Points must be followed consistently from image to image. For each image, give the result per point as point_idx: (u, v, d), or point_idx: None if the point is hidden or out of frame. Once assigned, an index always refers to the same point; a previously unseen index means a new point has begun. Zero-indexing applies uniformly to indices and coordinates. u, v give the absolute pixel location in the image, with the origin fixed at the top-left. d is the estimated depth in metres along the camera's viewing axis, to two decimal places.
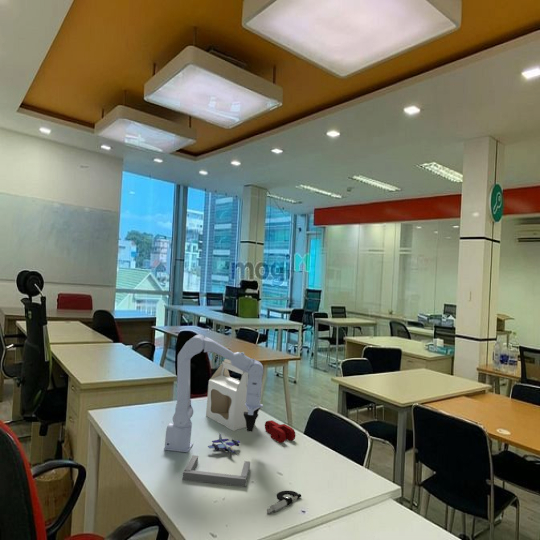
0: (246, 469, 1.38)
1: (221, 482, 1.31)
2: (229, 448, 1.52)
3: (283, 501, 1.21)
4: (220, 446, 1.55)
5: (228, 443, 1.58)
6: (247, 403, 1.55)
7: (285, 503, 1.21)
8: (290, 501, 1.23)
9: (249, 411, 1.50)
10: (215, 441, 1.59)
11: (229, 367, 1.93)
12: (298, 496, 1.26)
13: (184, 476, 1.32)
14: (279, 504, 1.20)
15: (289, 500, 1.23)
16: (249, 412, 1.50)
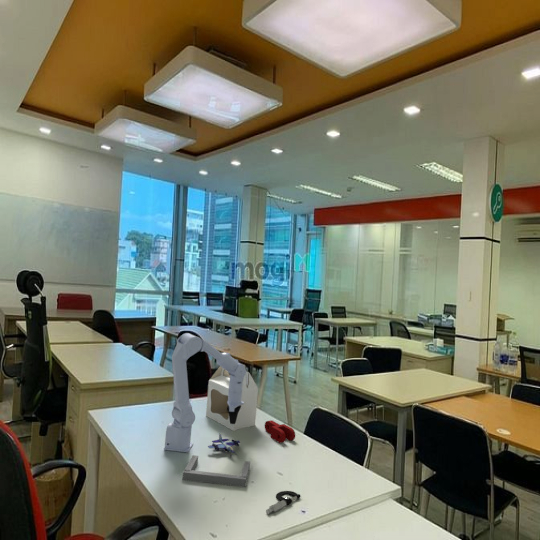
0: (246, 469, 1.38)
1: (221, 482, 1.31)
2: (229, 448, 1.52)
3: (282, 501, 1.21)
4: (220, 446, 1.55)
5: (228, 443, 1.58)
6: (229, 401, 1.68)
7: (284, 503, 1.21)
8: (289, 501, 1.23)
9: (230, 408, 1.62)
10: (215, 441, 1.59)
11: None
12: (297, 496, 1.26)
13: (184, 476, 1.32)
14: (278, 505, 1.20)
15: (288, 500, 1.23)
16: (230, 409, 1.62)
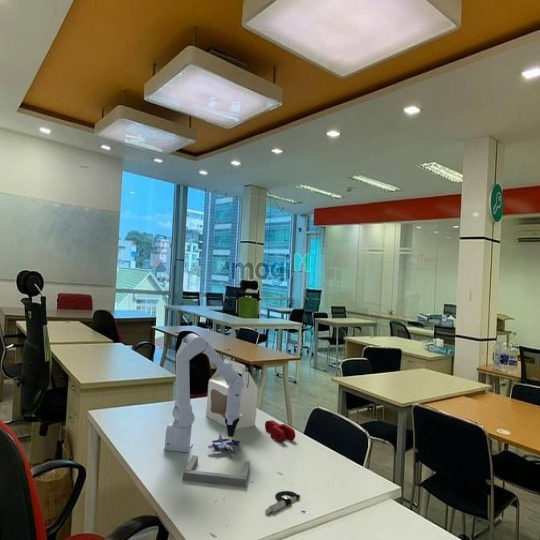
0: (246, 469, 1.38)
1: (221, 482, 1.31)
2: (229, 448, 1.52)
3: (282, 502, 1.21)
4: (220, 446, 1.55)
5: (228, 443, 1.58)
6: (227, 413, 1.65)
7: (284, 504, 1.21)
8: (289, 502, 1.22)
9: (228, 421, 1.60)
10: (215, 441, 1.59)
11: None
12: (297, 497, 1.26)
13: (184, 476, 1.32)
14: (277, 505, 1.19)
15: (288, 501, 1.22)
16: (228, 422, 1.60)
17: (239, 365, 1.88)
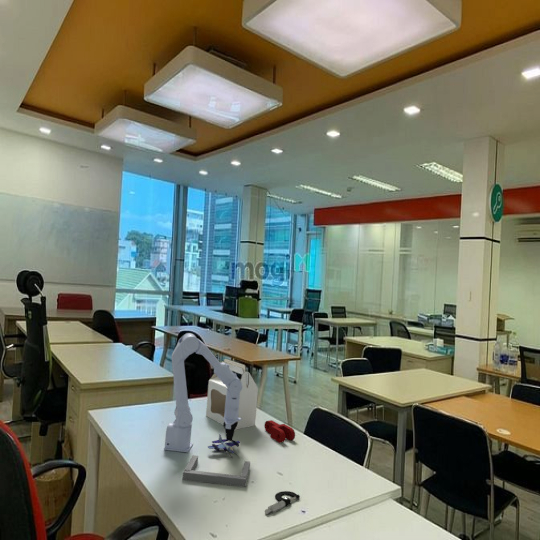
0: (246, 469, 1.38)
1: (221, 482, 1.31)
2: (229, 448, 1.52)
3: (281, 502, 1.21)
4: (220, 446, 1.54)
5: (228, 443, 1.57)
6: (225, 417, 1.61)
7: (283, 504, 1.21)
8: (288, 502, 1.22)
9: (227, 425, 1.55)
10: (215, 441, 1.58)
11: (229, 367, 1.93)
12: (296, 497, 1.26)
13: (184, 476, 1.32)
14: (277, 505, 1.19)
15: (287, 501, 1.22)
16: (227, 426, 1.55)
17: (239, 365, 1.88)
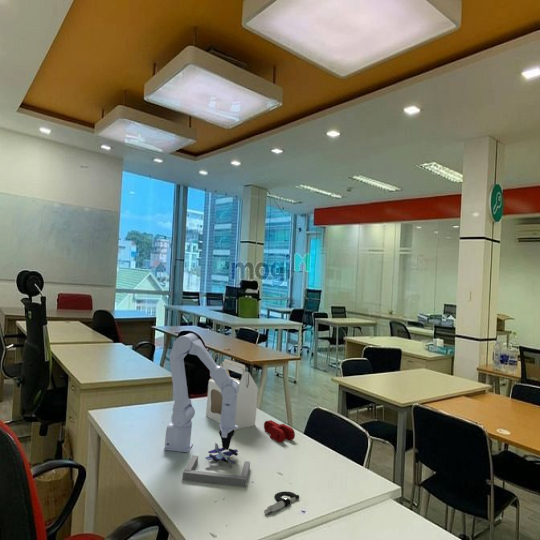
0: (246, 469, 1.38)
1: (221, 482, 1.31)
2: (229, 458, 1.43)
3: (281, 502, 1.21)
4: (218, 457, 1.45)
5: (226, 453, 1.48)
6: (221, 425, 1.52)
7: (283, 504, 1.21)
8: (288, 502, 1.22)
9: (223, 434, 1.47)
10: (211, 451, 1.49)
11: (229, 367, 1.93)
12: (296, 497, 1.26)
13: (184, 476, 1.32)
14: (277, 505, 1.19)
15: (287, 501, 1.22)
16: (223, 435, 1.47)
17: (239, 365, 1.88)
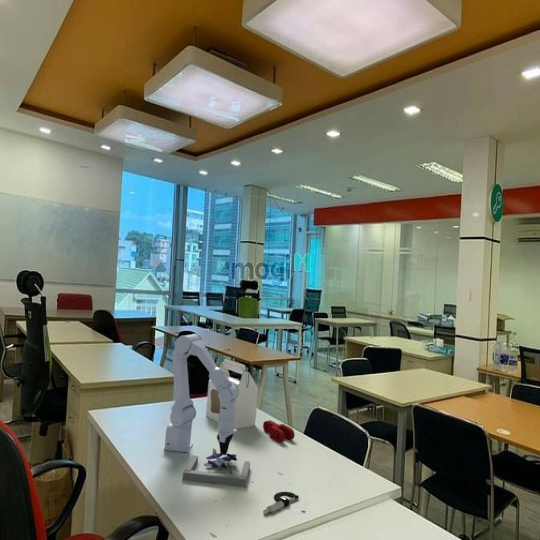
0: (246, 469, 1.38)
1: (221, 482, 1.31)
2: (229, 464, 1.39)
3: (280, 502, 1.21)
4: (217, 463, 1.41)
5: (225, 458, 1.44)
6: (219, 429, 1.48)
7: (282, 504, 1.20)
8: (287, 502, 1.22)
9: (220, 438, 1.43)
10: (210, 457, 1.44)
11: (229, 367, 1.93)
12: (295, 497, 1.26)
13: (184, 476, 1.32)
14: (276, 505, 1.19)
15: (286, 501, 1.22)
16: (220, 439, 1.43)
17: (239, 365, 1.88)
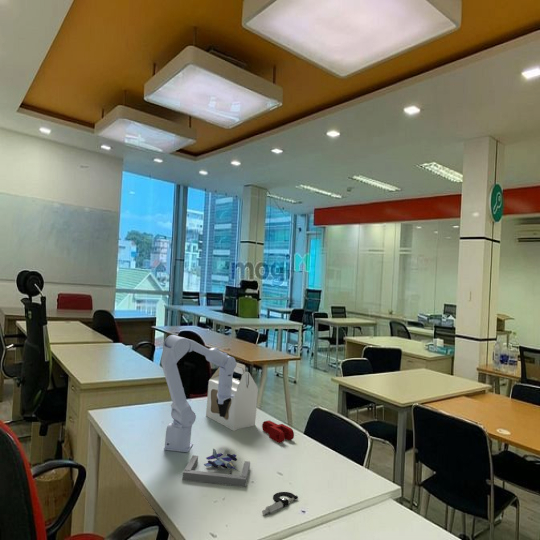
0: (246, 469, 1.38)
1: (221, 482, 1.31)
2: (229, 464, 1.39)
3: (279, 503, 1.20)
4: (217, 463, 1.41)
5: (225, 458, 1.44)
6: (218, 393, 1.67)
7: (281, 505, 1.20)
8: (286, 503, 1.22)
9: (219, 400, 1.61)
10: (210, 457, 1.44)
11: None
12: (295, 498, 1.25)
13: (184, 476, 1.32)
14: (275, 506, 1.19)
15: (285, 502, 1.22)
16: (219, 401, 1.61)
17: (239, 365, 1.88)
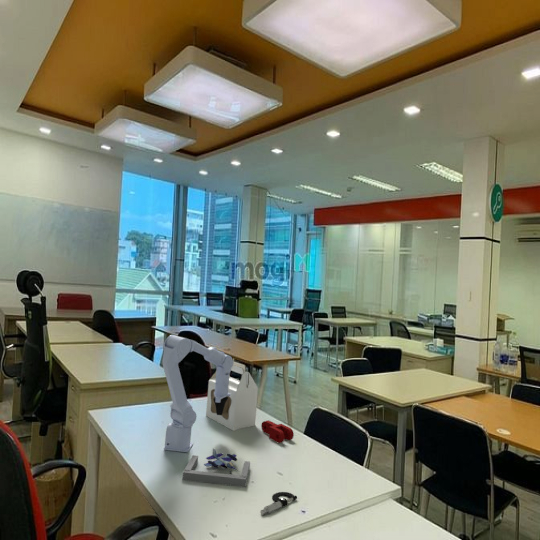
0: (246, 469, 1.38)
1: (221, 482, 1.31)
2: (229, 464, 1.39)
3: (278, 502, 1.20)
4: (217, 463, 1.41)
5: (225, 458, 1.44)
6: (215, 392, 1.68)
7: (280, 505, 1.20)
8: (285, 503, 1.22)
9: (216, 399, 1.63)
10: (210, 457, 1.44)
11: None
12: (294, 498, 1.25)
13: (184, 476, 1.32)
14: (273, 505, 1.19)
15: (284, 502, 1.22)
16: (216, 400, 1.63)
17: (239, 365, 1.88)
